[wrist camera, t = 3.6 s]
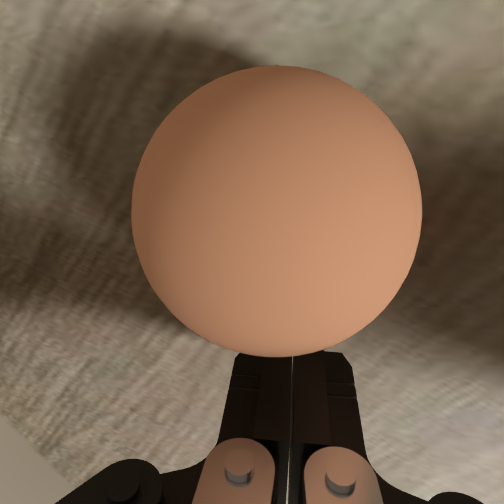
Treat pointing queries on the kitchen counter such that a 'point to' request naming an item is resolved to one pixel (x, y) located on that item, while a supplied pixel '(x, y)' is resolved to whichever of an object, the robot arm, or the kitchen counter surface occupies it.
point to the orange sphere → (276, 211)
